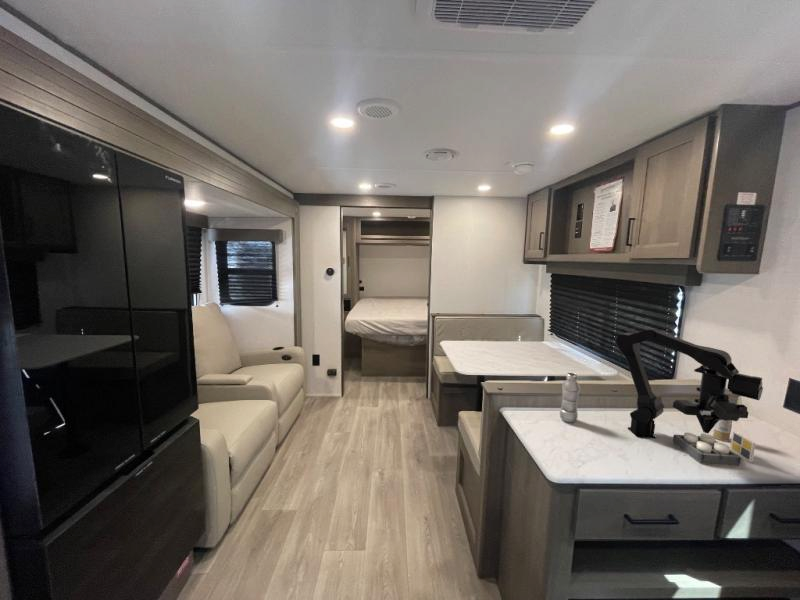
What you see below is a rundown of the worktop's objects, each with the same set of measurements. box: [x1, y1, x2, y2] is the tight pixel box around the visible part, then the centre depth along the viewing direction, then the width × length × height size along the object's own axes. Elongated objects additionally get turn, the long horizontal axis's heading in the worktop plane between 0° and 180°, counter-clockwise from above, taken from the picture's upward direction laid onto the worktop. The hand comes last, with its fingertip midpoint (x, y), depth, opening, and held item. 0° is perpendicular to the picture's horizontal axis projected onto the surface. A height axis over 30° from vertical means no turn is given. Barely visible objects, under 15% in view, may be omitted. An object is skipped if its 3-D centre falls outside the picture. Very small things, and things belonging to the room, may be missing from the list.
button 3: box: [699, 433, 716, 445], centre depth 109 cm, size 4×4×2 cm
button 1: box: [683, 432, 699, 444], centre depth 109 cm, size 4×4×2 cm
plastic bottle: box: [559, 372, 581, 423], centre depth 127 cm, size 6×7×20 cm
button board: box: [672, 434, 742, 467], centre depth 107 cm, size 12×12×3 cm
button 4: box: [713, 441, 731, 455], centre depth 103 cm, size 4×4×2 cm
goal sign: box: [729, 431, 757, 464], centre depth 105 cm, size 1×7×7 cm, turn 174°
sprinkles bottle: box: [712, 420, 733, 442], centre depth 115 cm, size 5×5×14 cm
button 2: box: [696, 441, 712, 453], centre depth 104 cm, size 4×4×2 cm
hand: (705, 432), depth 103 cm, fingers closed
